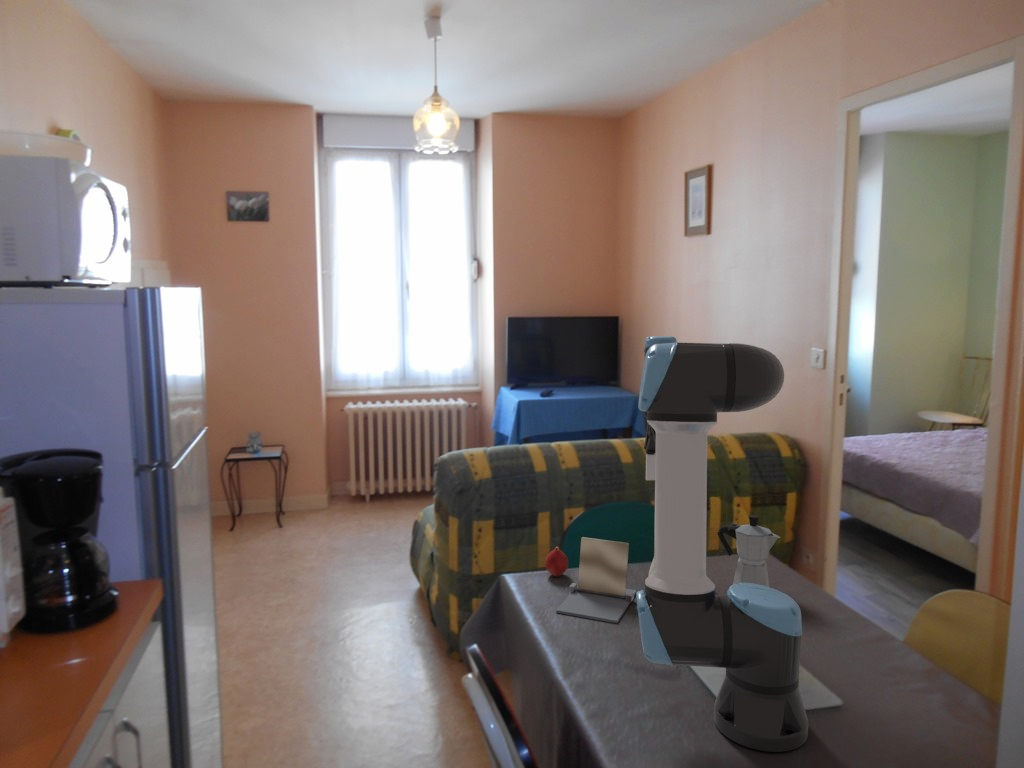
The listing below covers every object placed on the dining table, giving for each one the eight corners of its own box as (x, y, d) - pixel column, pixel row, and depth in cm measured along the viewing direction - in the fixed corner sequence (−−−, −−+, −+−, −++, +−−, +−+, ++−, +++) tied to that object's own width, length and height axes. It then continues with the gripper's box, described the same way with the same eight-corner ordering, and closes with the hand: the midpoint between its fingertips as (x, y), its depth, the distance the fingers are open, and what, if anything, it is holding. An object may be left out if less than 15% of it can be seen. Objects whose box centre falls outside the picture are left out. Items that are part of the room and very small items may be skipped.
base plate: (617, 623, 155) (617, 620, 155) (556, 612, 161) (556, 610, 161) (636, 592, 172) (636, 590, 172) (580, 583, 177) (580, 581, 177)
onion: (541, 574, 184) (542, 544, 183) (562, 571, 185) (563, 541, 184) (549, 582, 178) (550, 551, 177) (571, 580, 180) (571, 549, 179)
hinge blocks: (631, 602, 165) (631, 596, 165) (569, 592, 171) (569, 586, 171) (633, 598, 167) (633, 592, 167) (572, 588, 173) (572, 582, 173)
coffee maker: (782, 587, 175) (785, 515, 173) (774, 599, 168) (777, 524, 166) (721, 574, 183) (723, 506, 181) (710, 586, 176) (712, 514, 174)
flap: (626, 598, 167) (625, 599, 166) (577, 590, 172) (576, 591, 171) (629, 543, 168) (628, 543, 167) (581, 536, 173) (580, 537, 172)
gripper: (688, 408, 159) (686, 501, 162) (662, 393, 184) (660, 474, 187) (655, 408, 159) (653, 501, 162) (633, 393, 184) (632, 474, 187)
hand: (657, 487), depth 174 cm, fingers open, 13 cm apart
